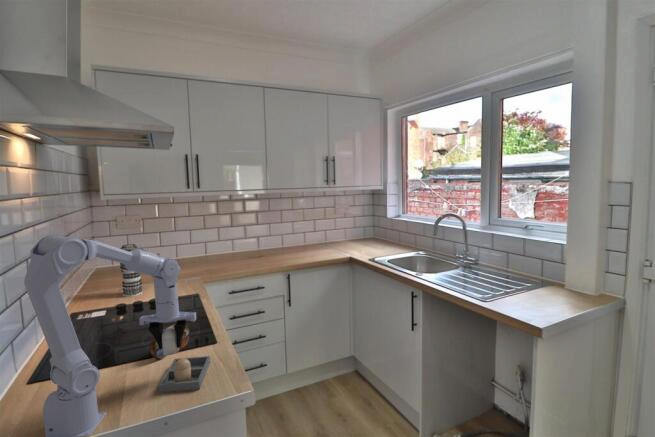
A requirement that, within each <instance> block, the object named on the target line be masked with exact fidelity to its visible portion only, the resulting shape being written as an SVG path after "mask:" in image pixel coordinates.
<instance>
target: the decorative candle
mask: <svg viewBox="0 0 655 437" xmlns="http://www.w3.org/2000/svg"><path fill="white" fill-rule="evenodd" d="M119 249H122V250H125V251H128V252H129V251H131V250H133V249H139V246H138V245H136V244H135V243H127V244H123V245H122V246H121V247H120V248H119ZM119 266H120V273H121V274H122V282H121V283H122V293H123V295H122V296H123V297H124V296H125V297H126V298H132V297H133V296H134V297H137V296H140V294H141V295H142V294H143V285H142V283H143V282H142V280H143V279H141V278H142V277H141V273H137V272H133V271H129V270H127V269H126V267H125V265H124V263H120V262H119ZM125 297H124V298H125Z"/></svg>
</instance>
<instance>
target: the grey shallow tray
mask: <svg viewBox="0 0 655 437" xmlns="http://www.w3.org/2000/svg"><path fill="white" fill-rule="evenodd" d="M182 358H183V357H180V358H174V359H173V361H172V362H171V364H170V366H169V367H168V368H167V371H166V373H165V374H164V376H163V378H162V379H161V380H160V382H159V384H158V392H159V394H162V393H163V394H164V393H176V392H184V391H185V392H186V391H196V390H198V391H199V390H201V387H202V385H203V382H204V380H205V377H206V375H207V373H208V369H209V367H210V365H211V356H210V355H205V356H194V357H193V356H192V357H184V358H185V359H188V360H189V361H190V364H191V378H192V381H188V382H176V383H175V376H174V365H175V363H176V362H177V361H178V360H179V359H182Z"/></svg>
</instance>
